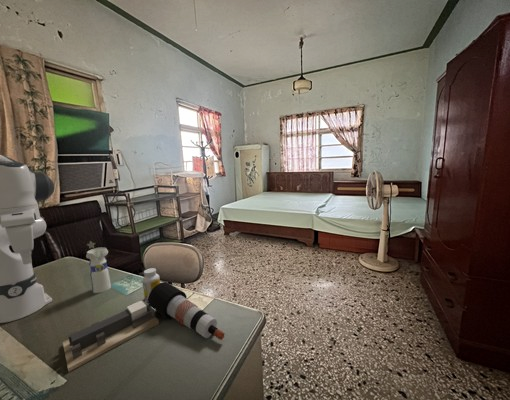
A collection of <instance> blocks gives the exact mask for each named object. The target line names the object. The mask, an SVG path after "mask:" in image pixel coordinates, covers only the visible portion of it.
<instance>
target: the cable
mask: <svg viewBox="0 0 510 400" xmlns="http://www.w3.org/2000/svg"><path fill="white" fill-rule="evenodd" d="M147 303H148V304H149V305H150V306H151V307H152V308H153V309H154V311H156V312H158V313H159V314H160V315H161V316H163V317H164V318H165V319H167V320H172V319H175V320H176V321H177V322H178V323H180V324H181V325H183V326H185V327H187V328H188V329H190V330H192V331H194V332H195V333H196V334H199V335H200V336H202V337H203V338H204V339H208V338H210V337H211V336H213V337H215V338H217V339H218V340H220V341H222V340H224V339H223V338H225V332H224V331H222V330H220V329H219V328H218V326H217V325H218V321H217V319H215V317H212V316H211V315H209V313H207V312H205V311H204V310H203V309H202V308H200V307H199V306H198V305H197V304H195V303H193V302H191V301H190V300H189V299H187V294H186V293H185V292H184V291H183V290H180V289H179V288H178V287H176V286H174V285H173V284H172V283H169V282H166V281H162V282H160V283H159V284H158V285H156V286H155V287H154V288H153V289H152V291H151V292H150V294H149V297H148V302H147Z"/></svg>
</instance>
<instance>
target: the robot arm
mask: <svg viewBox="0 0 510 400" xmlns="http://www.w3.org/2000/svg"><path fill="white" fill-rule="evenodd" d="M55 189H56V188H55V183H54V181H53V180H52V178H51V177H50V176H48V175H47V174H45V173H43V172H41V171H35V170H33V169H31V168H29V167H28V165H27V164H25V163H24V162H19V161H16V160H15V159H13V158H10V157H8V156H6V155H3V154H0V324H4V323H9V322H13V321H16V320H19V319H22V318H24V317H27V316H30V315H32V314H34V313H35V312H37V311H39V310H41V309H42V308H44V306H45V305H48V304H50V303H51V302H53V298H52V297H51V296H50V295H48V294H47V293H46V291H45V290H44V286H43V285H42V284H41V283H38V278H37V274H36V273H35V272H34V268H33V263H32V262H33V259H32V255H33V250H34V239H36V238H39V237H41V236H42V235H44V234H45V233H46V229H47V223H46V220H44V218H43V217H42V216H41V214H40V213H41V212H40V210H39V204H38V202H44V201H46V200H48V199H49V198H50V197H51V196H52V195H53V194H54V192H55ZM10 246H11V248H12V251H13V252H12V251H11V249H10Z"/></svg>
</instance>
